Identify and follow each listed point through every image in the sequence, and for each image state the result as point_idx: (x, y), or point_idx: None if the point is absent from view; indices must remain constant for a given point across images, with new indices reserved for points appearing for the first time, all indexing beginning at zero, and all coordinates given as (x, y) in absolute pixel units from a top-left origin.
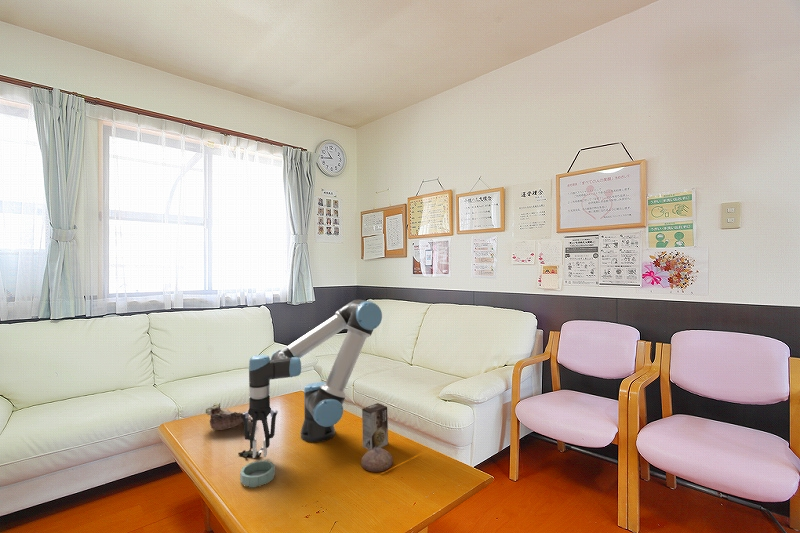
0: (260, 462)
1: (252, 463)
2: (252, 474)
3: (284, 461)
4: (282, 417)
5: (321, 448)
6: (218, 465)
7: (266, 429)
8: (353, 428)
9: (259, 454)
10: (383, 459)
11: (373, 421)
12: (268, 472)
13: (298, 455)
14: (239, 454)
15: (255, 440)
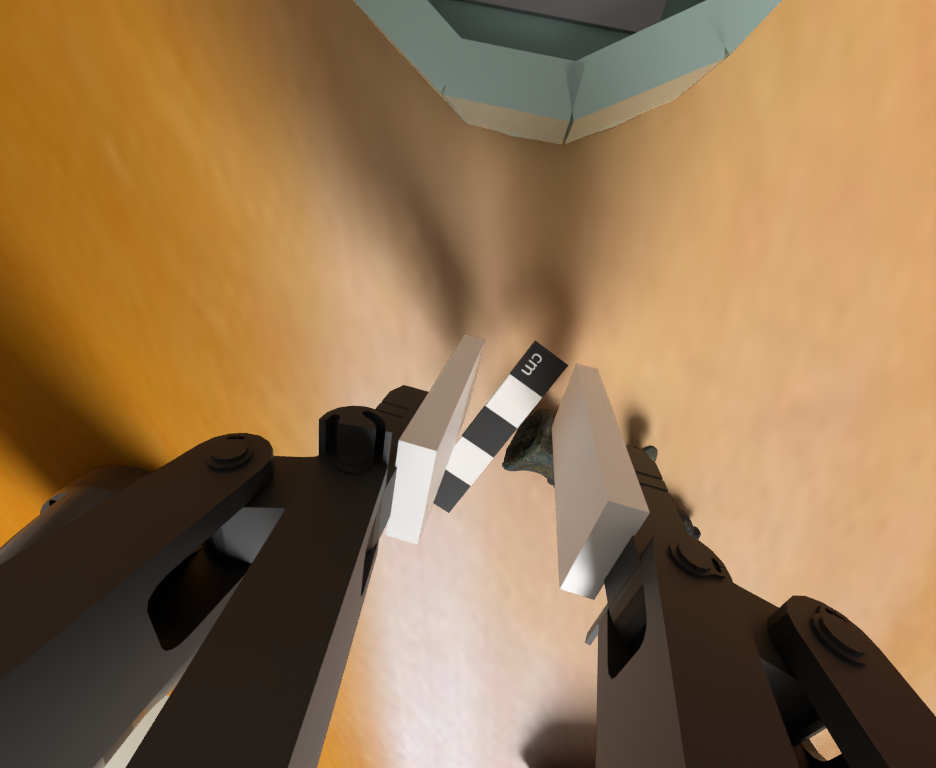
0: (523, 55)
1: (664, 33)
2: None
3: (303, 261)
4: (394, 746)
5: (78, 366)
6: (933, 434)
7: (168, 730)
8: (3, 517)
9: (525, 354)
10: None
11: None
12: None
13: (210, 325)
14: (690, 520)
15: (582, 534)
